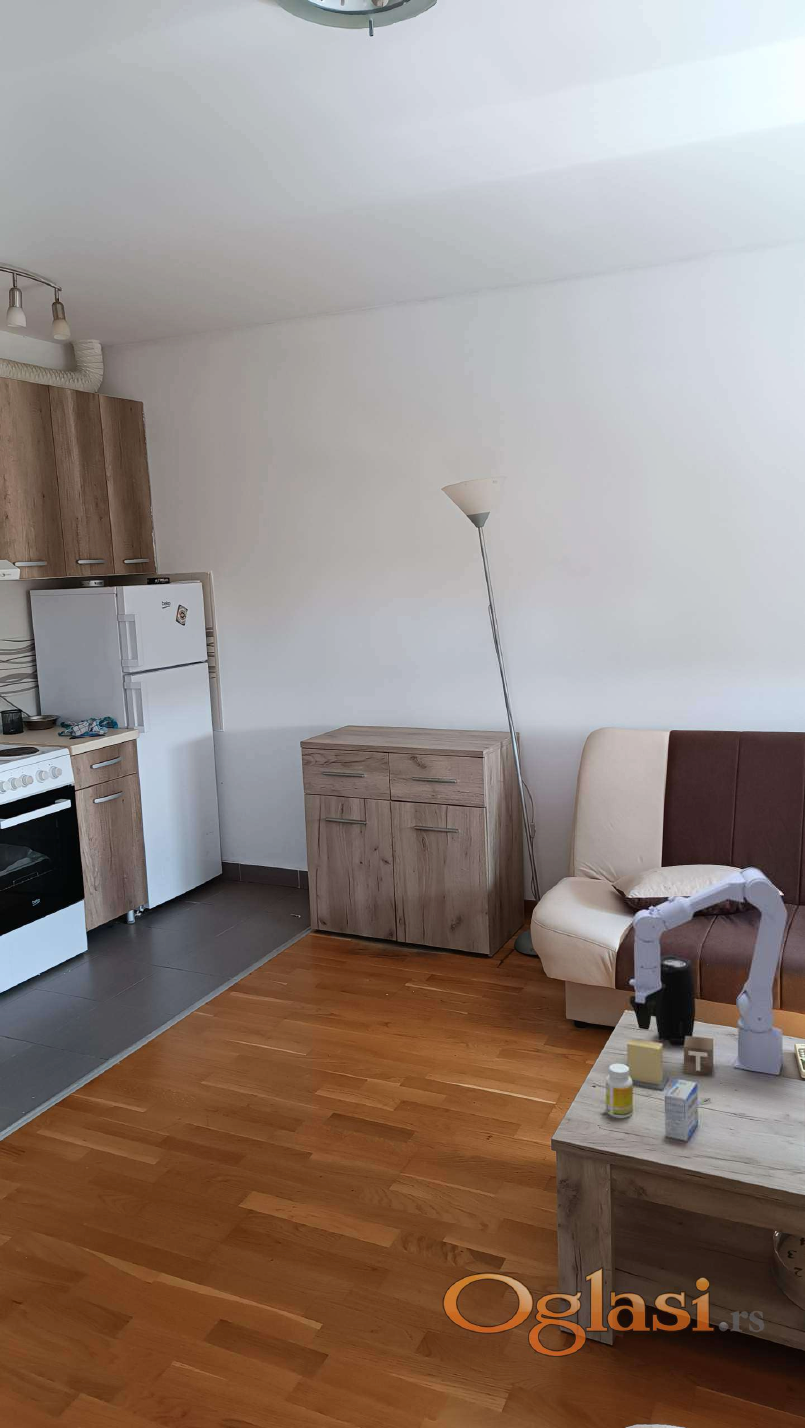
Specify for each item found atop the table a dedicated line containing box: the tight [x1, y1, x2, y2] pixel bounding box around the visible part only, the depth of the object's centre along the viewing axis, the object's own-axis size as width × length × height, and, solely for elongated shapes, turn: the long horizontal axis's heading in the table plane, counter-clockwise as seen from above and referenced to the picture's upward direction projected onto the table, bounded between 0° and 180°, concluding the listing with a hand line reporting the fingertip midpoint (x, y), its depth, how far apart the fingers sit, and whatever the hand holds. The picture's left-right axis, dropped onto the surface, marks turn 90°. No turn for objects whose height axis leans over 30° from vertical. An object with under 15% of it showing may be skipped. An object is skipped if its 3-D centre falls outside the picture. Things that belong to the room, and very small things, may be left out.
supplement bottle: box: [605, 1063, 634, 1119], centre depth 202 cm, size 5×5×10 cm
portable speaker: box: [655, 954, 696, 1047], centre depth 234 cm, size 9×9×20 cm
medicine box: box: [664, 1078, 699, 1142], centre depth 194 cm, size 8×4×9 cm, turn 148°
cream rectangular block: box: [626, 1038, 664, 1085], centre depth 215 cm, size 7×3×8 cm, turn 62°
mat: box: [632, 1075, 670, 1092], centre depth 215 cm, size 9×6×1 cm, turn 63°
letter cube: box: [683, 1035, 714, 1077], centre depth 220 cm, size 6×6×6 cm
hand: (648, 1022), depth 224 cm, fingers open, 7 cm apart
